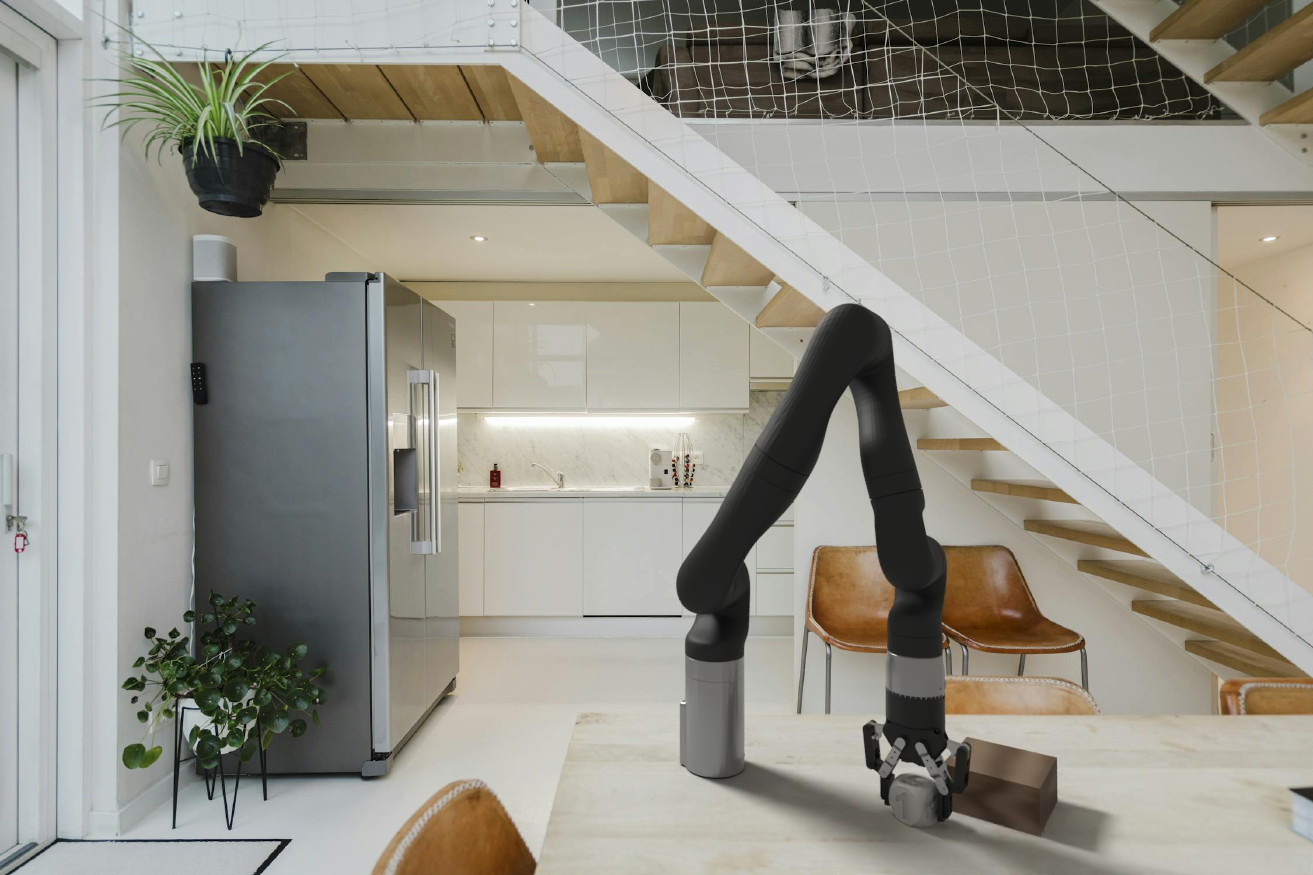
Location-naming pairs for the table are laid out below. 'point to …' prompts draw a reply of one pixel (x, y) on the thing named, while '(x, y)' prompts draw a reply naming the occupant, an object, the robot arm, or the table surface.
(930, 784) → the die
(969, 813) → the pedestal
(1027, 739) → the table surface
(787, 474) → the robot arm
